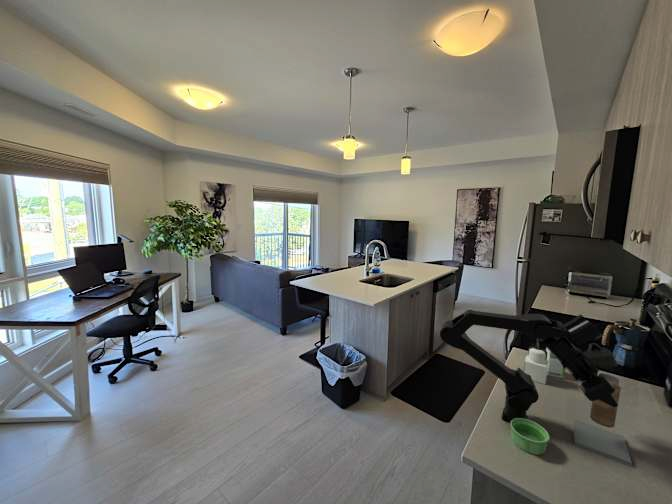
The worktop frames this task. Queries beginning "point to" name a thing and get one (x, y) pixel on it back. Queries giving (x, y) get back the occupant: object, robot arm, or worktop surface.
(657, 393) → the worktop surface
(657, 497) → the worktop surface
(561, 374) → the syrup box
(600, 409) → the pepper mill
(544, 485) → the worktop surface
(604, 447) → the slate trivet
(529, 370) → the medicine bottle
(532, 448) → the ramekin
